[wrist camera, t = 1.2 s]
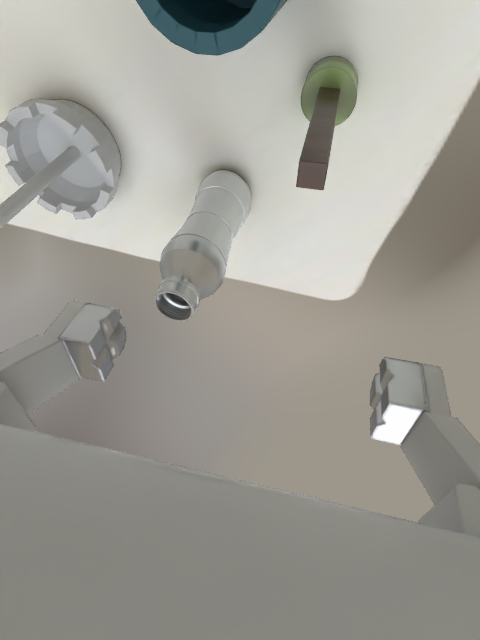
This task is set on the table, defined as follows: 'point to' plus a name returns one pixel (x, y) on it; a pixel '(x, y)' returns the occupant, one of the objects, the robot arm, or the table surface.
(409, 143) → the table surface
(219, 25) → the jar
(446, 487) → the robot arm
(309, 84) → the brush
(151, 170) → the table surface
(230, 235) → the plastic bottle
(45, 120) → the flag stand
